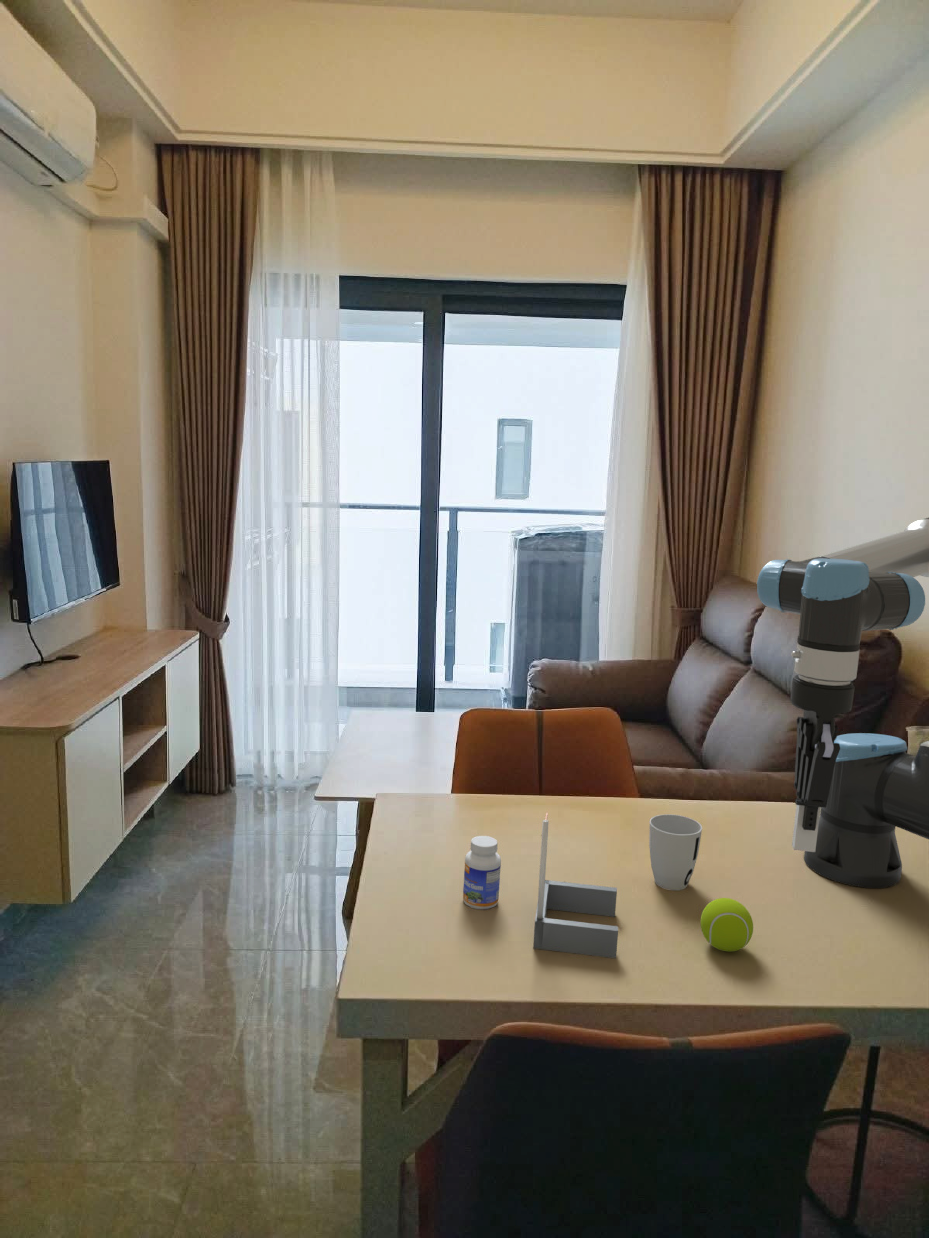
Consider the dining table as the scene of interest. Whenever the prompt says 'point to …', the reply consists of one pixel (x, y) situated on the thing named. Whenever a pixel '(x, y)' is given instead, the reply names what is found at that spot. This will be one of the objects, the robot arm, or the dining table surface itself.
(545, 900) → the gray u frame
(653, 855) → the cup
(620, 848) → the dining table surface
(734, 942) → the tennis ball
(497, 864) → the pill bottle
